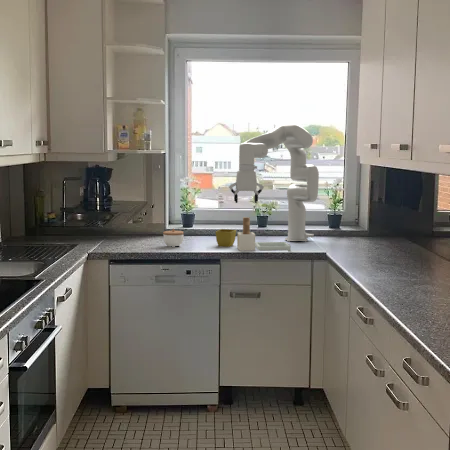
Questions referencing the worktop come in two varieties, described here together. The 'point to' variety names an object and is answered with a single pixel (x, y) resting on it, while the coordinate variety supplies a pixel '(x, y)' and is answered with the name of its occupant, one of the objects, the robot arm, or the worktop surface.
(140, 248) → the worktop surface
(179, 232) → the lidded jar
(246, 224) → the dowel
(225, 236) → the flower pot
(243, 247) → the white square holder
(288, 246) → the tray
